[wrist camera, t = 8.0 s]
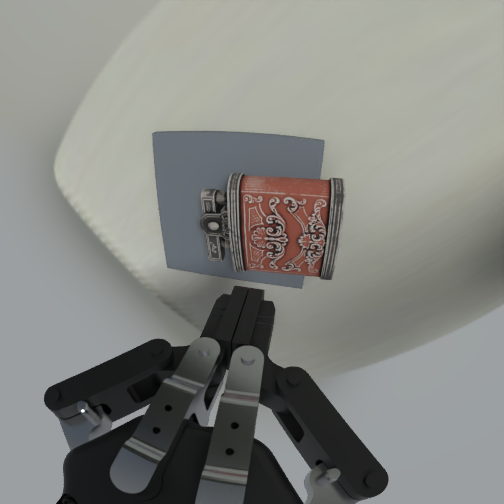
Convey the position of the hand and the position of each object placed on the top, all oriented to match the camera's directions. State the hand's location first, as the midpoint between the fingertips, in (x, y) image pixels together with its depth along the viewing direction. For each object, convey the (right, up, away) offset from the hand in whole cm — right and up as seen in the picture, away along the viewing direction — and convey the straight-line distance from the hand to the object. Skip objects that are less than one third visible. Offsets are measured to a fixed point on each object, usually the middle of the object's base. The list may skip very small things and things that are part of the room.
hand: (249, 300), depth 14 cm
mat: (-1, +6, +8) cm, 10 cm away
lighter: (+6, +4, +5) cm, 9 cm away
